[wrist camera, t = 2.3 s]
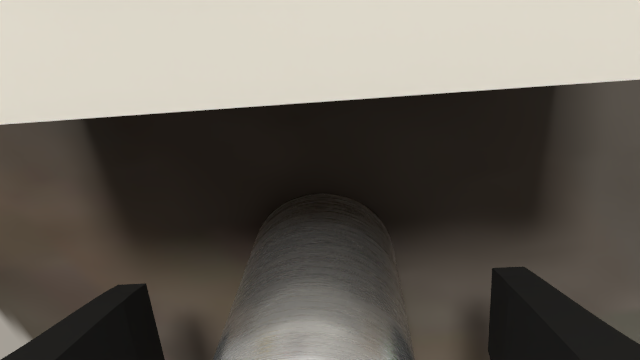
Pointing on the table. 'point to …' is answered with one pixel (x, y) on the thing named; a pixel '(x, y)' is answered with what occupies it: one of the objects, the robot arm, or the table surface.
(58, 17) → the socket block
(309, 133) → the table surface
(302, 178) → the table surface
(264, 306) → the steel pin
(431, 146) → the table surface
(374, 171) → the table surface
